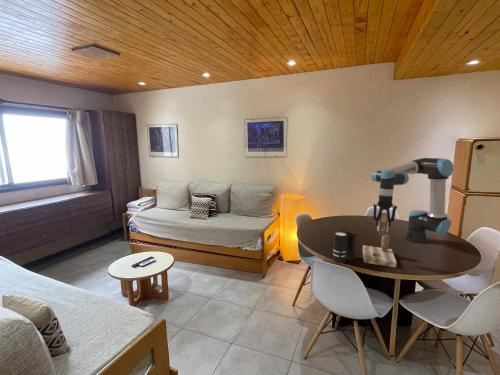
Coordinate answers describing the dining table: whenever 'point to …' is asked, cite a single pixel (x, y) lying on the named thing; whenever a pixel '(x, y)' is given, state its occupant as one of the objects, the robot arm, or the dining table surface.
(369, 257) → the seat board
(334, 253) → the striped black canister
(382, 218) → the oak peg
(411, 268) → the dining table surface
